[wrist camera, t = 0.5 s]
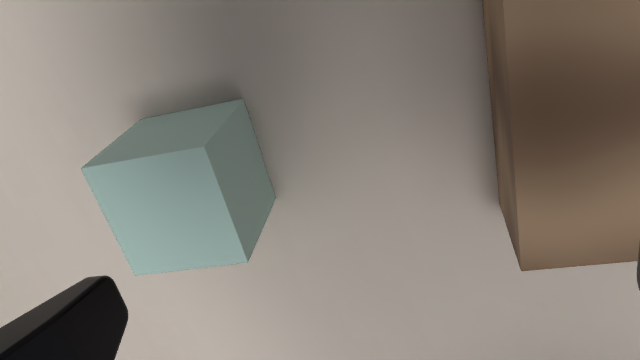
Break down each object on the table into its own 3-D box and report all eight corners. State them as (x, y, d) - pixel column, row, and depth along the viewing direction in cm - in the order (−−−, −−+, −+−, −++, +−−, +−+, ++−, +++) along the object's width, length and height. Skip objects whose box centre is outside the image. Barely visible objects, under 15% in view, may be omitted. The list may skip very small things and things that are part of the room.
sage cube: (276, 197, 24) (248, 262, 20) (181, 211, 25) (134, 275, 21) (243, 98, 22) (204, 146, 17) (141, 118, 23) (80, 168, 19)
